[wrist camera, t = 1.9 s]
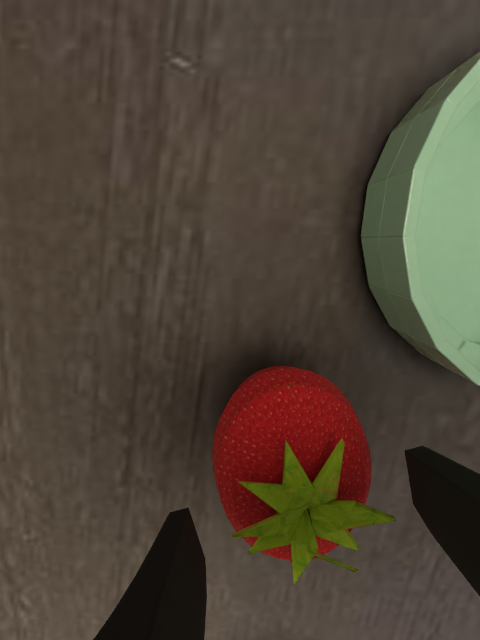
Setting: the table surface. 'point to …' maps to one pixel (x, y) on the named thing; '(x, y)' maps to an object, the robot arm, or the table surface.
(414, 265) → the mint green dish
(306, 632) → the table surface
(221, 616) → the table surface
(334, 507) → the strawberry
